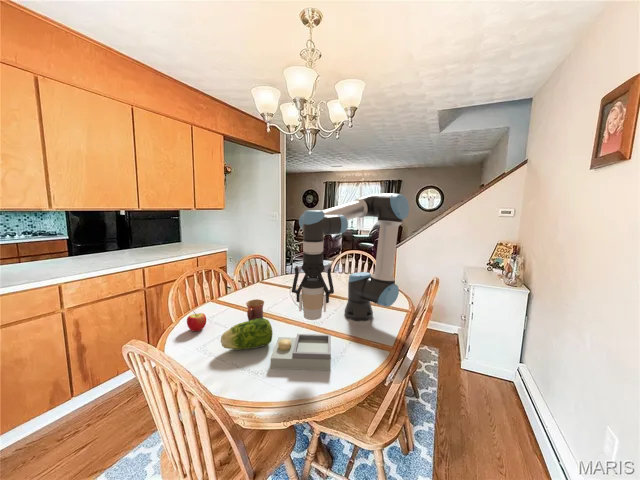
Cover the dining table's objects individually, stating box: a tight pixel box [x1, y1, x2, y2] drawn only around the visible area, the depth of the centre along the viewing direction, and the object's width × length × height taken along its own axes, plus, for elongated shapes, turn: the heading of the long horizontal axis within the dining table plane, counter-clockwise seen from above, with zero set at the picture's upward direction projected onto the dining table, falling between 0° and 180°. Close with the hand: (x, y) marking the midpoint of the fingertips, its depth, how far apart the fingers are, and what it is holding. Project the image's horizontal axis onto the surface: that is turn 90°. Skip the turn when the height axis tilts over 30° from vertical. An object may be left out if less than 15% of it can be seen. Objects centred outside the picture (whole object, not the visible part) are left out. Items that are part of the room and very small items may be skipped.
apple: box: [186, 311, 207, 332], centre depth 124 cm, size 8×8×10 cm
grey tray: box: [270, 333, 332, 371], centre depth 104 cm, size 22×15×6 cm
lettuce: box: [220, 317, 274, 351], centre depth 110 cm, size 12×21×11 cm, turn 117°
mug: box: [245, 298, 265, 321], centre depth 131 cm, size 12×9×10 cm
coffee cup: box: [301, 277, 325, 321], centre depth 101 cm, size 9×9×15 cm
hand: (312, 310), depth 101 cm, fingers closed on coffee cup, 8 cm apart
